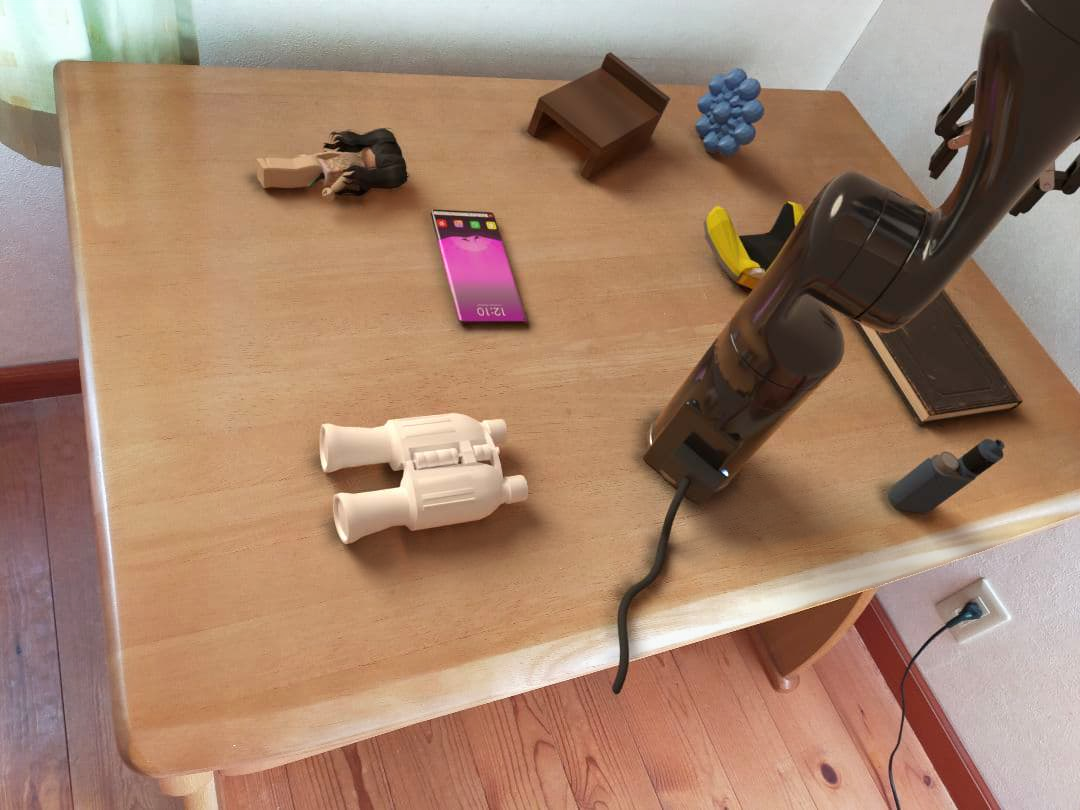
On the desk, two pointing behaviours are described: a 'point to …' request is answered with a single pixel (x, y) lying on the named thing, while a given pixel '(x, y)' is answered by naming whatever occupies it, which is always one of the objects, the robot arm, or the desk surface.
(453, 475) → the binoculars
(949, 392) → the hardcover book
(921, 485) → the vaping device
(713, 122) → the grapes
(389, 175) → the toy figure
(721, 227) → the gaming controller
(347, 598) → the desk surface
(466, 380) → the desk surface
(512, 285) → the smartphone
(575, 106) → the shelf
